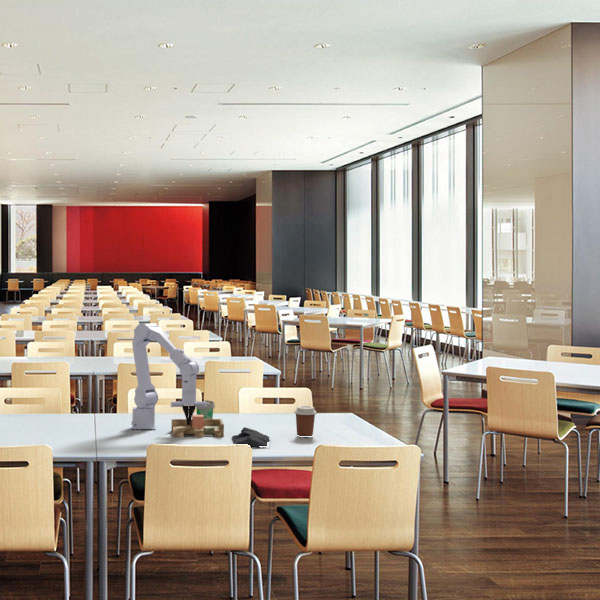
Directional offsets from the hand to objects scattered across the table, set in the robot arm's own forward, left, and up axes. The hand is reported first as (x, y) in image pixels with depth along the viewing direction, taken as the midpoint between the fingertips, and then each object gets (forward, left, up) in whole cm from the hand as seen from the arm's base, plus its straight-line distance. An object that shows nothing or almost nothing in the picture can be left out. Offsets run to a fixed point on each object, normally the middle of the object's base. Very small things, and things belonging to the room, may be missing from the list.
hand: (188, 424), depth 343 cm
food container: (+9, +17, -4) cm, 19 cm away
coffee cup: (+47, -10, -4) cm, 48 cm away
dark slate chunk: (+23, -22, -4) cm, 32 cm away
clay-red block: (+4, 0, -1) cm, 4 cm away
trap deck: (+3, -3, -3) cm, 6 cm away
